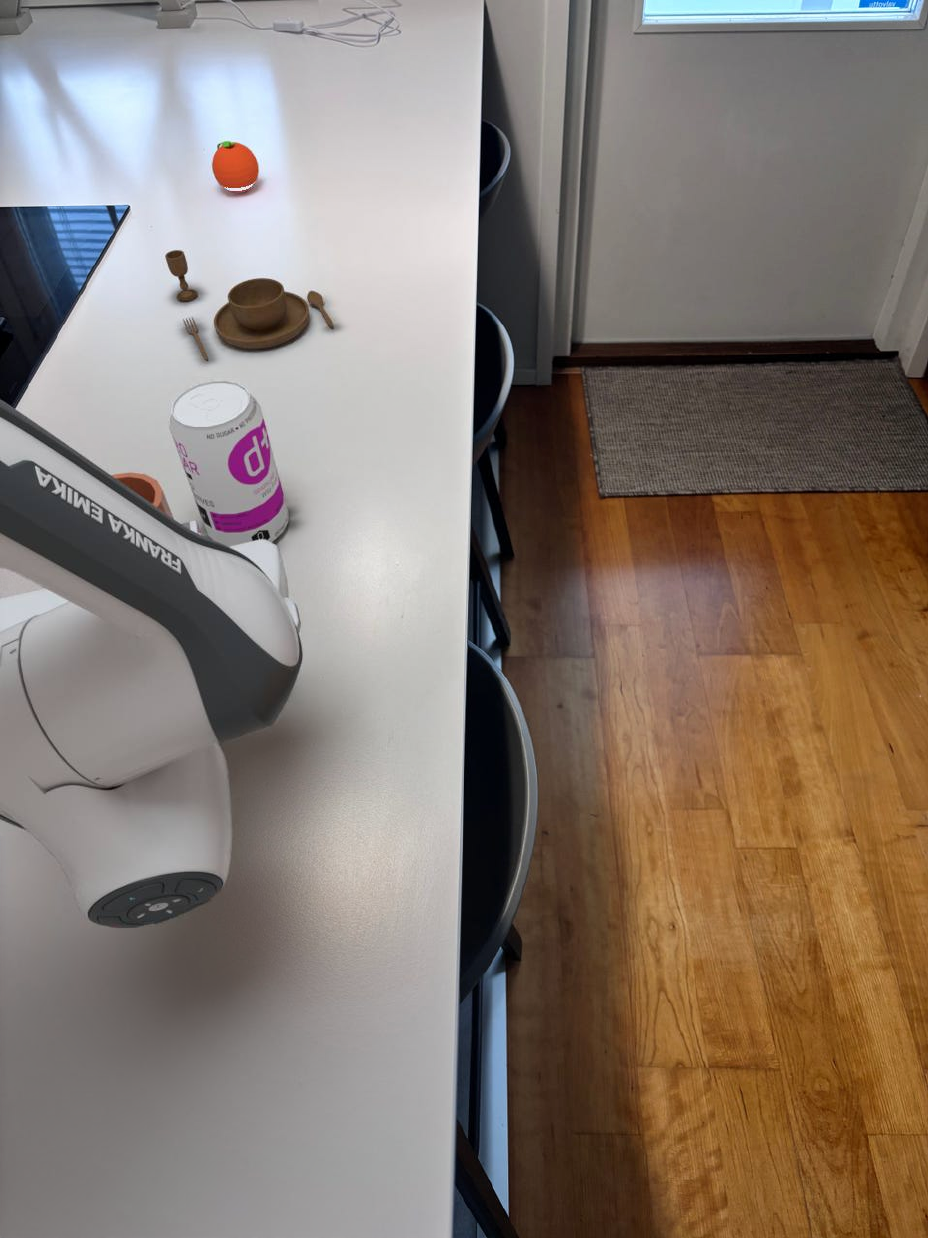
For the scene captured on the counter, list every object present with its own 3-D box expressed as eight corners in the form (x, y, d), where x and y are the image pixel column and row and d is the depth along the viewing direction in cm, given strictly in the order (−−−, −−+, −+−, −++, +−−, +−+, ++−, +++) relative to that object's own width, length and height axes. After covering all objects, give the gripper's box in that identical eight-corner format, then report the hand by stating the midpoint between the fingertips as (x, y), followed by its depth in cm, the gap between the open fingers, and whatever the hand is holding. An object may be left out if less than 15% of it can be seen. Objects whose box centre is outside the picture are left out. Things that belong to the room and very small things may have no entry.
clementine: (206, 189, 148) (193, 142, 142) (243, 174, 151) (232, 127, 145) (234, 204, 144) (222, 156, 138) (272, 188, 147) (261, 141, 141)
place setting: (206, 370, 114) (192, 327, 110) (170, 295, 127) (157, 253, 122) (343, 331, 118) (335, 287, 114) (295, 261, 131) (286, 220, 126)
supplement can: (306, 516, 96) (275, 391, 85) (253, 567, 91) (213, 442, 80) (246, 490, 99) (208, 366, 88) (191, 538, 95) (144, 414, 83)
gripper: (296, 610, 60) (267, 476, 69) (-41, 691, 57) (-24, 540, 66) (313, 673, 64) (285, 539, 73) (3, 750, 62) (13, 601, 71)
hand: (136, 540), depth 70 cm, fingers closed on cup, 6 cm apart
